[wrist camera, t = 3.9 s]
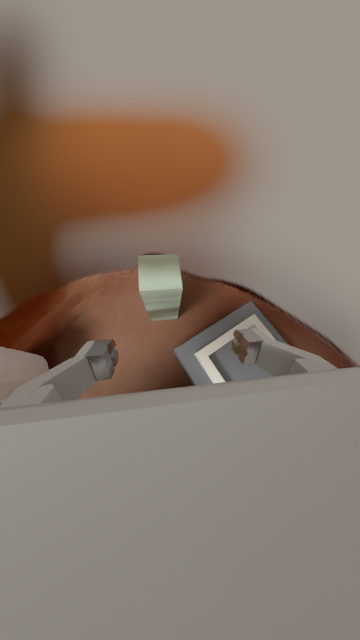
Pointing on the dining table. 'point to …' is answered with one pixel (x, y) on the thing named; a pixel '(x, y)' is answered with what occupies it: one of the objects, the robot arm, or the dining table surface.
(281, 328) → the dining table surface
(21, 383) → the white cup
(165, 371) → the dining table surface
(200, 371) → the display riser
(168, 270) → the green block
